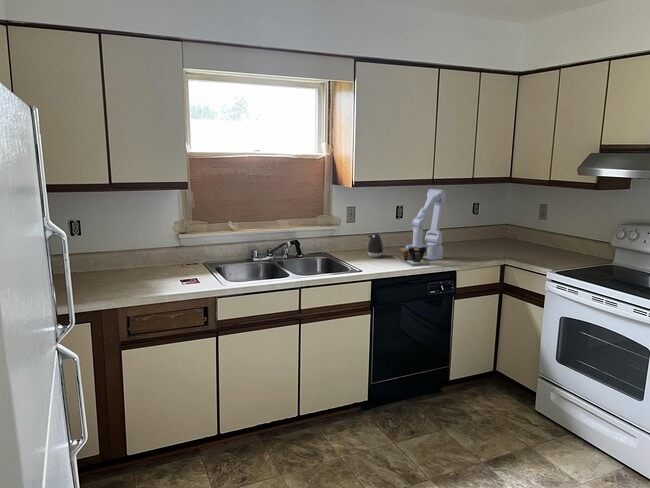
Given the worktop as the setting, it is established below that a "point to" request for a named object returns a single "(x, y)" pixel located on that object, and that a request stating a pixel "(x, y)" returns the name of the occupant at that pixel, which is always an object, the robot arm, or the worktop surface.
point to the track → (412, 262)
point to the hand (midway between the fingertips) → (416, 259)
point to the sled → (415, 257)
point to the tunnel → (404, 252)
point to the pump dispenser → (375, 246)
